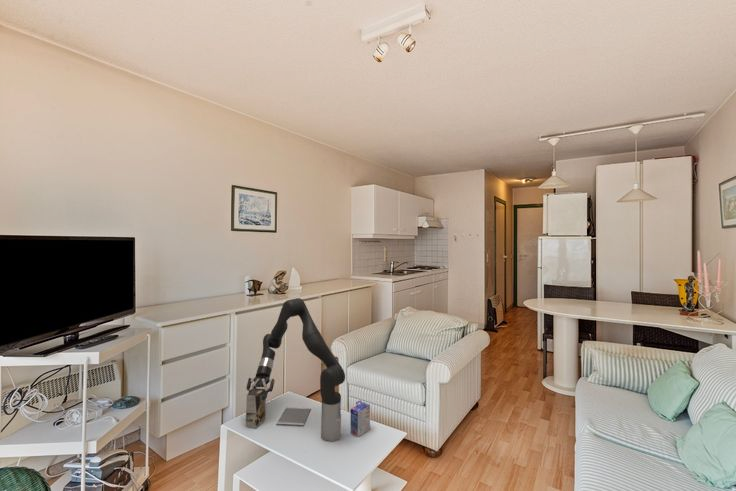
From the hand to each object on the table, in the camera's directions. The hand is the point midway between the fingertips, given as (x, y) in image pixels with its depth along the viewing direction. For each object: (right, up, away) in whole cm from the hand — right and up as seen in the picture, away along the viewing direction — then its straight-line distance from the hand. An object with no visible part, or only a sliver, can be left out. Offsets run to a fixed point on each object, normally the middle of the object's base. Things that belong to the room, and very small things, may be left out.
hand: (256, 398), depth 173 cm
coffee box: (0, -13, 0) cm, 13 cm away
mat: (+18, -13, +7) cm, 23 cm away
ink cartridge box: (+53, -14, -5) cm, 55 cm away
